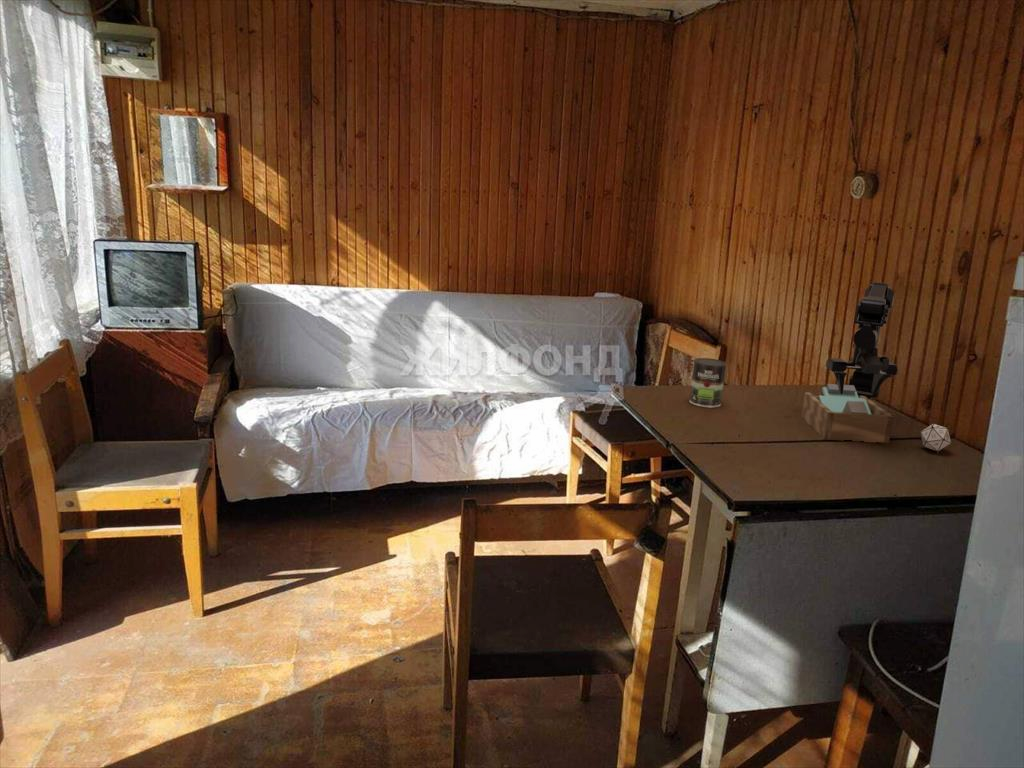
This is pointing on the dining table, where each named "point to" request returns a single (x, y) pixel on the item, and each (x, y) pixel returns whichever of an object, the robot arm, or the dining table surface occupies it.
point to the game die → (935, 437)
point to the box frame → (847, 422)
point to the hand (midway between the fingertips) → (856, 394)
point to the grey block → (855, 407)
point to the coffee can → (707, 382)
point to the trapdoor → (840, 397)
